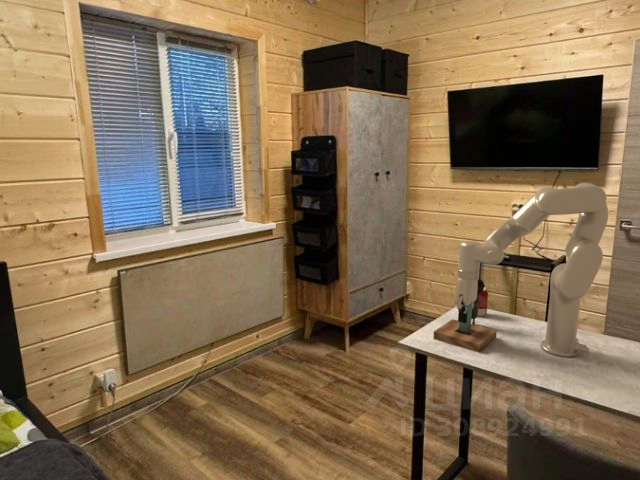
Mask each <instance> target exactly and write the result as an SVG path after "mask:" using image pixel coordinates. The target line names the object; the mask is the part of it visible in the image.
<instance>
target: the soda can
mask: <svg viewBox="0 0 640 480" xmlns="http://www.w3.org/2000/svg"><path fill="white" fill-rule="evenodd" d="M488 297H489V291H488V289H487V288H486V287H485V288H484V290H483V291H482V292H481V293H480V295H479V305H478V315H477V318H478V317H480V318H483V317H485V316H487V314H488Z"/></svg>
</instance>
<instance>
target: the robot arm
mask: <svg viewBox="0 0 640 480" xmlns="http://www.w3.org/2000/svg"><path fill="white" fill-rule="evenodd" d="M576 214H577V215H578V217H577V221H576V224H575V226H574V228H573V231H572V233H571V234H570V237H569V239H568V242H567V243H566V246H565V248H564V251H565V252H564V253H565V255H566V257H567V261H566V263H565V262H564V263H561V264H558V265H556V266H555V267H554V268H553V270H552V272H551V273H550V281H549V282H550V283H549V284H550V285H549V286H550V289H549V290H550V291H549V304H548V310H547V311H548V313H547V323H546V333H545V339H543V340H542V341H541V342H540V344H539V346H540V349H542V350H543V351H545V352H547V353H549V354H551V355H554V356H558V357H565V358H567V357H568V358H569V357H577V356H578V355H579V354H580V352H582V353H585V354H589V352H590V347H588V345H586V344H585V343H580V342H579V338H577V333H578V325H579V316H580V309H581V298H584V297H585V295H586V294H587V293H588V292H589V290H590V289H591V286H592V284H593V283H594V281H595V278H596V276H597V274H598V272H599V270H600V268H601V266H602V263H603V259H604V253H603V250H602V248H601V247H600V245H599V244H600V242H601V240H602V237H603V235H604V232H605V230H606V227H607V224H608V220H609V208H608V204H607V193H606V191H605V190H604V189H602V187H600V186H598V185H596V184H593V183H591V182H580V183H578V184H577V185H575V186H574V187H568V188H555V187H551V186H545V187H542V188H540V189H538V191H536V192H535V193H534V194H533V195H532V196H531V197H530V198H529V199H528V200H527V201H526V202H525V203H524V204H523V205H522V206H521V207H520V208H519V209H518V210H517V211H516V212H515V213H514V214H513V215H512V216H511V217H509V218H508V219H507V220H506V221H505V222H503V223H502V224H501V225H500V226H498V228H497V229H495V230H494V231H493V232H492V233H491V234H490V235H489V236H488V237H487V238H486V239H485V240H484V241H483V242H482V244H481V243H480V242H478V241H474V240H464V241H463V240H462V241H461V242H460V244H459V251H458V252H459V253H458V254H459V255H458V267H457V269H458V270H457V278H458V279H457V282H456V288H455V294H454V304H455V305H456V308H457V313H458V317H457V320H458V321H459V322H462V323H467V313H466V311H467V306H468V305H469V304H471V302H472V301H473V303H472V317H473V308H474V301H475V300H476V299H477V289H478V279H480V267H481V264H485V265H489V266H495V265H499V264H500V263H501V262H502V261H503V260H504V258H505V253H504V251H505V250H506V249H508V247H509V246H510V245H511V244H513V243H514V242H515V241H516V240H518V239H519V238H521V237H524V236H525V237H526V236H527V235H529V234H531V233H532V232H534V230H536V229H537V228H538V227H539V226H540V225H541V224H542V223H543V222H544V221H545V220H547V218H548V217H550V216H562V215H576ZM462 303H465V304H462ZM462 306H464V307H465V308H463V307H462ZM472 317H471V320H473V319H472Z"/></svg>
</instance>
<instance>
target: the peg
mask: <svg viewBox="0 0 640 480" xmlns="http://www.w3.org/2000/svg"><path fill="white" fill-rule="evenodd" d="M472 303H473V301H472V302H471V304H469V305H468V306H467V311H466V313H467V323H462V322H459V328H458V329H459V330H460V331H463V332H469V331H470V330H471V324H472V319H471V317H472ZM462 304H465V303H462ZM462 307H463V308H465V307H464V306H462Z"/></svg>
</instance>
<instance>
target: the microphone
mask: <svg viewBox="0 0 640 480" xmlns="http://www.w3.org/2000/svg"><path fill="white" fill-rule="evenodd" d="M484 288H486V285H485V282H484V280H483V279H481V278H479V279H478V289H477V299H476V300H475V301H474V308H473V317H472V319H471V320H472V321H471V324H473V325H476V322H475V321H476V320H475V319H477V318H478V317H477V315H478V305H479V295H480V293H481V292H482V291H483V290H484Z"/></svg>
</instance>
